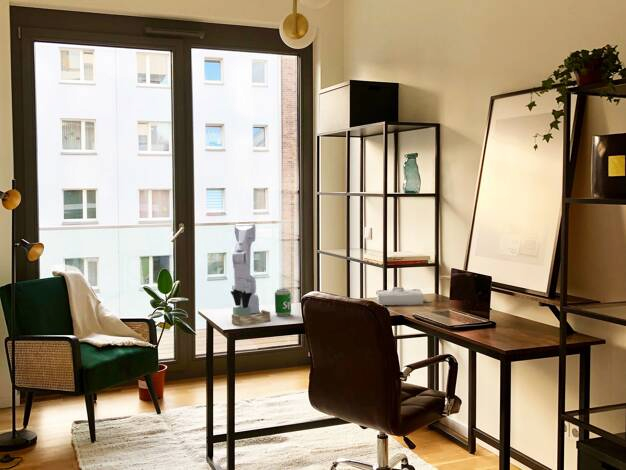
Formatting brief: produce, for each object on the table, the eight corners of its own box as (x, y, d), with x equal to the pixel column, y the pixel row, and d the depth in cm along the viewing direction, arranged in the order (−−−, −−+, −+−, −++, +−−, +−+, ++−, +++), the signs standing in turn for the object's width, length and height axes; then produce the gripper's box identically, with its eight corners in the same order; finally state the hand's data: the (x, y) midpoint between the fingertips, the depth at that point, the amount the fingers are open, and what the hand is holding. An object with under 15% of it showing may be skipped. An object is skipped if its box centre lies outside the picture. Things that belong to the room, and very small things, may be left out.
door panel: (248, 317, 335) (248, 305, 334) (251, 318, 332) (250, 306, 332) (233, 320, 330) (232, 307, 330) (235, 321, 328) (235, 308, 328)
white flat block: (433, 306, 352) (433, 290, 352) (377, 307, 353) (376, 292, 353) (429, 300, 371) (428, 285, 371) (375, 301, 372) (375, 287, 372)
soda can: (278, 317, 334) (277, 291, 333) (273, 314, 341) (272, 289, 340) (293, 315, 337) (292, 290, 336) (288, 312, 344) (287, 288, 343)
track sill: (263, 318, 331) (263, 310, 331) (270, 320, 326) (270, 311, 325) (231, 323, 322) (231, 314, 322) (238, 325, 317) (237, 316, 316)
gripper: (226, 277, 334) (227, 305, 335) (240, 280, 322) (241, 309, 323) (239, 275, 338) (240, 303, 339) (253, 278, 326) (254, 307, 326)
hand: (241, 306), depth 331 cm, fingers open, 7 cm apart
